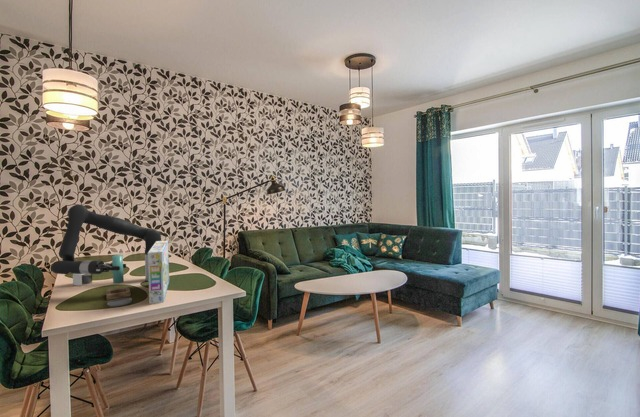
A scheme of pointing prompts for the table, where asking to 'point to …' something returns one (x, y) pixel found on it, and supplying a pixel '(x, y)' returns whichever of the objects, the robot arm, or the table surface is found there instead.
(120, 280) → the tall teal cylinder
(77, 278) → the medicine bottle
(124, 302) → the coaster
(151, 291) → the game box
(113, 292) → the pocket block
